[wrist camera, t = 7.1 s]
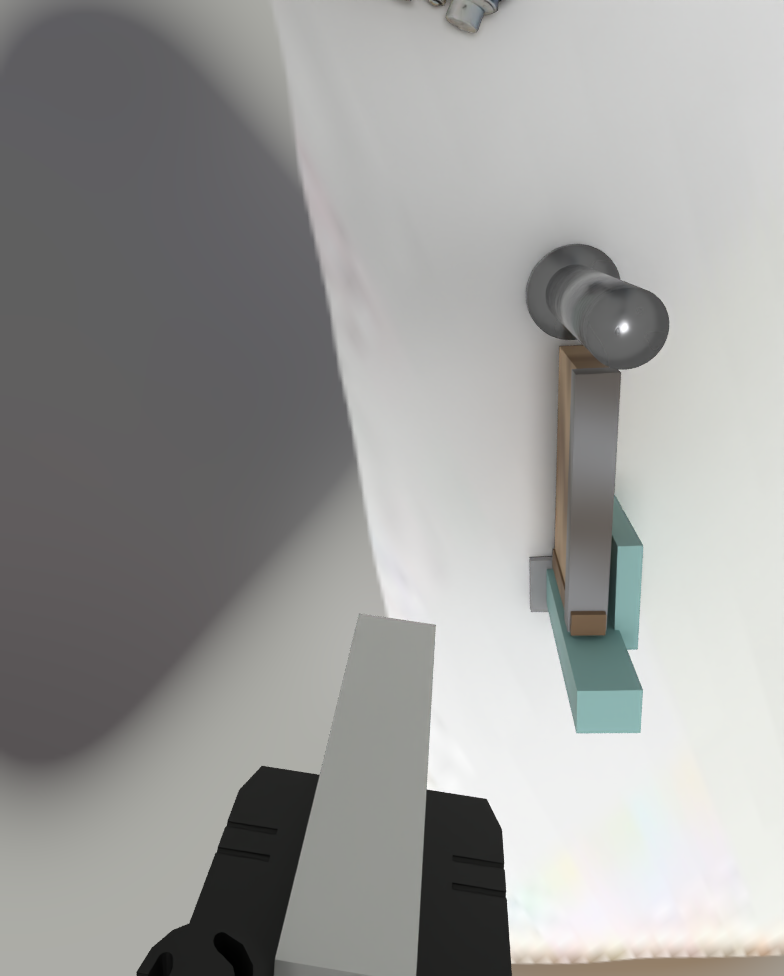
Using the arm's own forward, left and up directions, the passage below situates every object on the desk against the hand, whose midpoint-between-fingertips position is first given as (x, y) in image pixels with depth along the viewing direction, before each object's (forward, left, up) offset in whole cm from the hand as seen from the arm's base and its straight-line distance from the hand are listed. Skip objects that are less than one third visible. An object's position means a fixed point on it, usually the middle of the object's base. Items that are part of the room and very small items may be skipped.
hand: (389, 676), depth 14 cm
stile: (+8, +7, -21) cm, 23 cm away
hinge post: (-5, +7, -21) cm, 22 cm away
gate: (+3, +7, -20) cm, 21 cm away
